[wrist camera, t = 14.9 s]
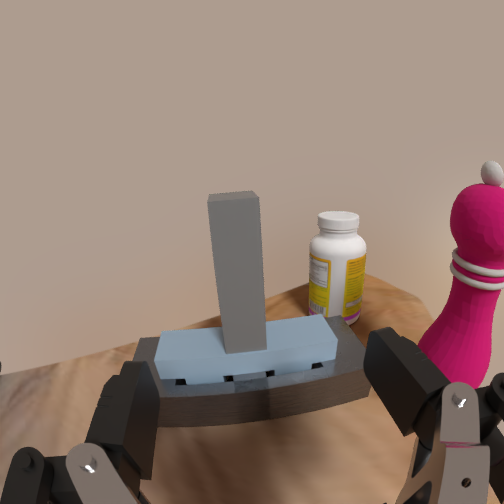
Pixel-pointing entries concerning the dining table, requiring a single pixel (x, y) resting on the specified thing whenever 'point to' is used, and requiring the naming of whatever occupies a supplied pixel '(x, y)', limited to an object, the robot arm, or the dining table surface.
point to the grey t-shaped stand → (242, 311)
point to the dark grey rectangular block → (262, 387)
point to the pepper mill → (471, 282)
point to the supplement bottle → (337, 267)
